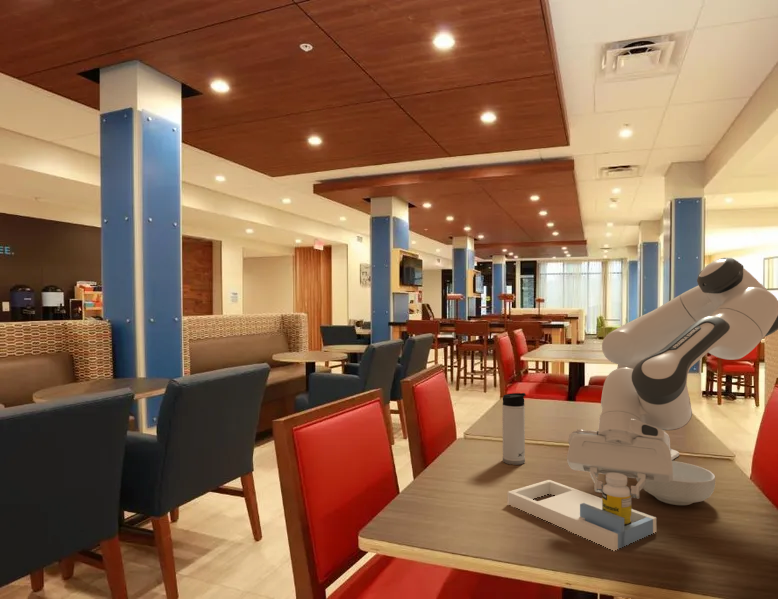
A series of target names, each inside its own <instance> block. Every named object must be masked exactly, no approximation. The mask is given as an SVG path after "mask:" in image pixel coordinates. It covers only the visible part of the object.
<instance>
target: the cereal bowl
mask: <svg viewBox="0 0 778 599" xmlns="http://www.w3.org/2000/svg"><path fill="white" fill-rule="evenodd" d="M672 467H673V479H672V480H671V481H670V482H669V483H664V482H657V481H650V480H646V485H645V486H644V487H643V488H642V490H644V491H645V492H647V493H648V494H649V495H651V496H653V497H654V498H655V499H656V500H658V501H660V502H663V503H665V504H669V505H675V506H688V505H689V506H690V505H692V504H693V503H699V502H703V501H705V500H707V499H709V498H711V496H712V494H713V493H714V491H715V487H716V476H715V473H713V472H712V471H711V470H709V469H706V468H704V467H702V466H698V465H696V464H691V463H688V462H687V463H686V462H682V461H676V460H672ZM636 482H637V483H638V479H636Z"/></svg>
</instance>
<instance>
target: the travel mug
mask: <svg viewBox="0 0 778 599" xmlns="http://www.w3.org/2000/svg"><path fill="white" fill-rule="evenodd" d="M525 397H527V396H526V393H525V392H522V393H521V392H520V393H519V392H517V393H514V392H512V393H508V394H507V393H506V394H504V395H503V396H502V462H503V463H505V464H507V465H511V464H513V465H512V466H516V465H517V466H520V465H523V464H525V463H526V462H525V461H526V460H525V458H526V457H525V453H526V450H525V446H526V444H525V442H526V441H525V440H526V437H525V436H526V435H525V433H526V431H525V429H526V426H525V424H526V422H525V421H526V420H525V415H526V414H525V413H526V412H525V410H526V409H525V407H526V406H525Z"/></svg>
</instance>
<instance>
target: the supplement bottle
mask: <svg viewBox="0 0 778 599" xmlns="http://www.w3.org/2000/svg"><path fill="white" fill-rule="evenodd" d="M605 482H606V483H605V484H603V487H602V493H601V498H602V510H604V511H607V512H609V513H612V514H615V515H617V516H620V517H623V518H624V526H627V525H629V524H631V520H632V519H631V509H632V497H631V487H629V486H627V485H628V477H627V476H625V475H623V474H620V473H607V474H605Z"/></svg>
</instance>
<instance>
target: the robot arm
mask: <svg viewBox="0 0 778 599" xmlns="http://www.w3.org/2000/svg"><path fill="white" fill-rule="evenodd" d="M696 282H697V285H696V286H694V287H693V288H690V289H688V290H686V291H684V292H683V293H681V294H679V295H677V296H676V297H673V298H672V299H670V300H669V301H667V302H666V303H663V304H662V305H660V306H659V307H657V308H655V309H653V310H652V311H651V310H650V311H649V312H647V313H645V314H643V315H641V316H639V317H637V318H635V319H633V320H631V321H629V322H627V323H624V324H623V325H621V326H619V327H618V328H616V329H614V330H612V331H610V332H609V333H608V334H606V335H605V337H604V338H603V339H602V342H601V351H602V353H603V356H604V357H605V358H606V359H607V360H608V361H609V362H611V363H613V364H616V365H617V367H616V368H615V369H614V370H612V371H610V372H609V373H608V375H607V377H605V380H604V382H603V387H602V393H601V400H600V407H601V413H600V414H599V416H600V417H598V418H599V420H598V430H584V429H576V430H573V431H571V432H570V433H569V437H568V444H569V447H568V449H567V450H568V451H567V455H566V462H567V465H568V467H569V468H570V469H571V470H573V471H579V472H585V473H589V474H590V478H591V480H592V482H593V483H594V486H593V489H594V492H595V493H601V494H602V487H603V486H604V484H603V481H601V480H598V478H599V474H601V475H606V474H607V473H620V474H623V475H625V476H627V479H629V478H630V479H635V480H637V479H638V482H637V483H636V485H630V490H631V498H633V499H640V492H641V490H643V487H644V486H645V485H646V480H650V481H657V482H664V483H669V482H670V481H671V480H672V479H673V467H672V461H674V459H676V458H677V457H680V452H679V451H677V450H676V449H673V448H671V439H670V435H669V434H668V433H667V431H676V430H679V429H681V428H683V427H685V426H687V425H688V423H689V422H690V421H691V419H692V416H693V409H692V404H691V399H690V394H689V390H688V389H689V388H688V377H689V376H688V374H689V371H690V370H691V368H692V367H693V366H694V365H695V364H697V363H698V361H700V360H701V359H703V357H705V356H706V354H710V355H711V356H714V357H716V358H719V359H723V360H734V361H735V360H740V359H742V358H744V357H745V356H747V355H749V353H751V352H752V351H753V350H755V348H756V347H757V346H758V345H759V344H760V342H762V340H763V339H764V338H765V337H768V336H770V335H772V334H774V333H775V332H777V331H778V298H777V297H776V296H775V295H774V294H773V293H772V292H771V291H769V290H768V289H767V288H766V287H765V286H764V285H763V283H760V282H759V281H758V279H756V277H754V276H753V275H752V274H751V273H750V272H749V271H748V270H746V269H745V268H744V265H743V264H742V263H740V262H739V261H738V260H736V259H734V258H732V257H722V258H719V259H717V260H714V261H711V262H710V263H708V264H707V265H706V266H705V267H704V268H702V270H700V272H699V273H698V276H697V279H696Z"/></svg>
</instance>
